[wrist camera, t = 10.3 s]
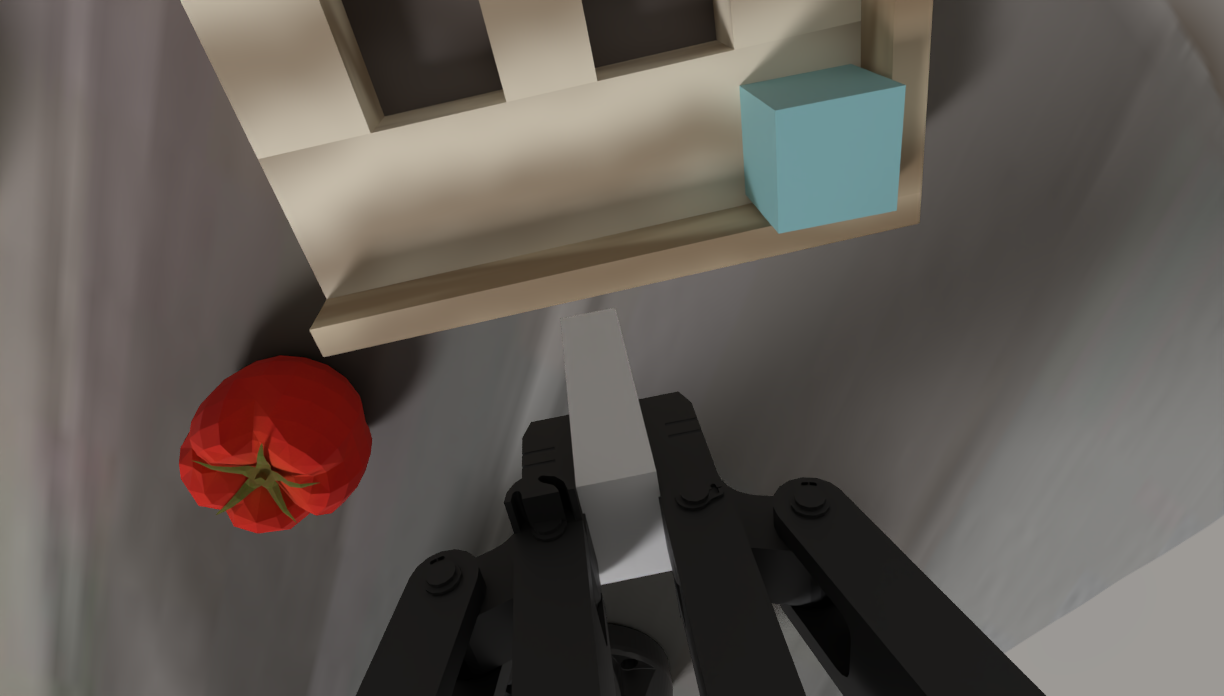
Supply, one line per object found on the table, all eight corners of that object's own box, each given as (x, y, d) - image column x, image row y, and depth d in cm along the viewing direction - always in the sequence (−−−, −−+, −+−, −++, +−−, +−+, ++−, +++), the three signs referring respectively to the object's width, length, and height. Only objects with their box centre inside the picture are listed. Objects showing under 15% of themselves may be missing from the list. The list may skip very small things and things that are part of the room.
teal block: (847, 174, 32) (896, 210, 27) (745, 194, 32) (778, 233, 27) (851, 63, 29) (905, 84, 25) (739, 85, 29) (775, 110, 25)
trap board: (859, 179, 36) (919, 223, 30) (355, 293, 36) (323, 357, 30) (862, -228, 26) (949, -271, 21) (188, -69, 27) (100, -71, 21)
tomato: (361, 331, 37) (326, 412, 31) (393, 452, 42) (368, 543, 36) (188, 345, 37) (117, 429, 30) (240, 465, 41) (188, 561, 35)
